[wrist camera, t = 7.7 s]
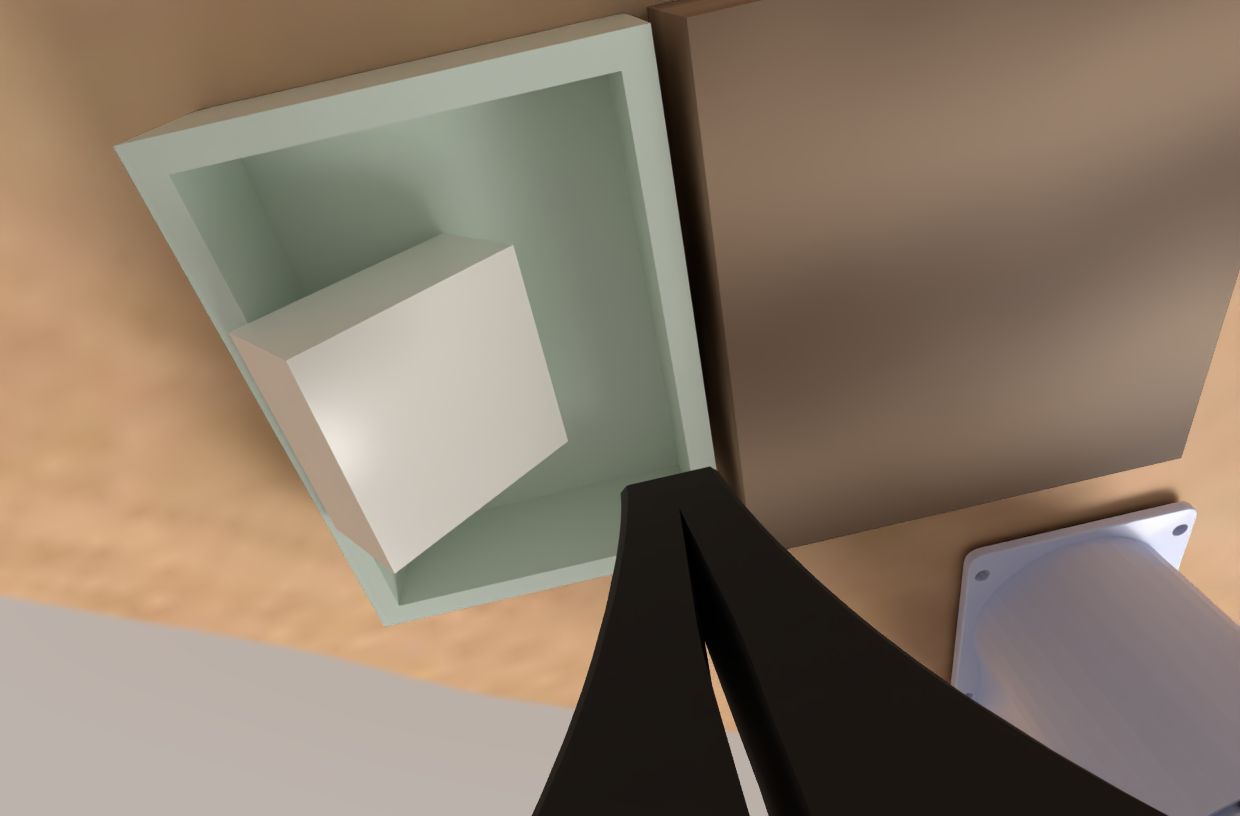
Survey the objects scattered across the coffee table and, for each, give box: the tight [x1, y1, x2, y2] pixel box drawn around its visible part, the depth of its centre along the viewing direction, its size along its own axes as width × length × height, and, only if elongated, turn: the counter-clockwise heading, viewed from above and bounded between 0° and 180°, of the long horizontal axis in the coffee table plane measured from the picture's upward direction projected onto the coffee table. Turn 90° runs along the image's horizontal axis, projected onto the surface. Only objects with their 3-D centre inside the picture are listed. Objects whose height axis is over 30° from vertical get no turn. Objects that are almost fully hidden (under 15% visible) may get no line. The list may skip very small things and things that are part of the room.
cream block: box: [229, 233, 568, 573], centre depth 15 cm, size 5×5×2 cm
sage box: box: [113, 13, 716, 627], centre depth 16 cm, size 12×9×4 cm
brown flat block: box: [647, 0, 1240, 549], centre depth 16 cm, size 12×11×4 cm
